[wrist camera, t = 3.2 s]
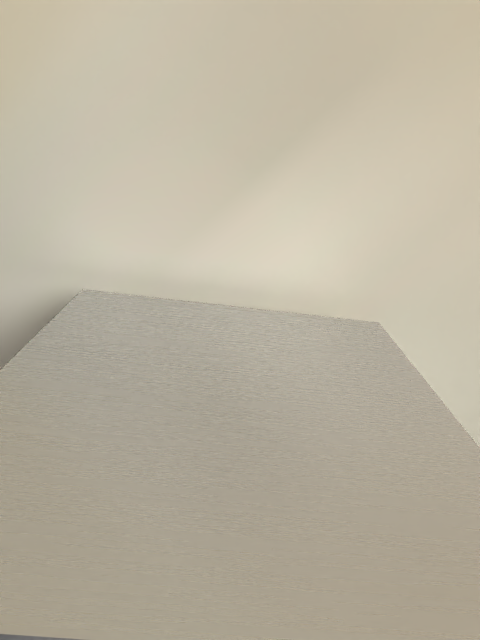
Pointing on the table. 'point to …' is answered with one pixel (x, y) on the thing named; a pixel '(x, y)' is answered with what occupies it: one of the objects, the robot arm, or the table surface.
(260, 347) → the drive
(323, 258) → the table surface
